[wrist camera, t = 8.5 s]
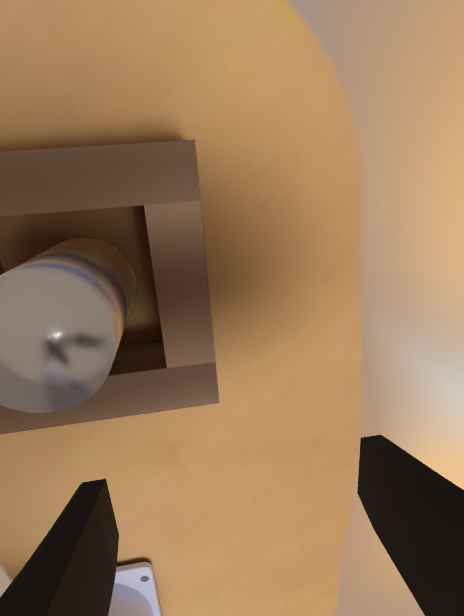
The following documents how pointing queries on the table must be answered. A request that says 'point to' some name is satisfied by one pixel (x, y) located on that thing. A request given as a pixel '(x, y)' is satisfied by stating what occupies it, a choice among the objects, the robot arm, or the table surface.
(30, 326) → the metal peg
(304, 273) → the table surface
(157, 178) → the walnut socket block
